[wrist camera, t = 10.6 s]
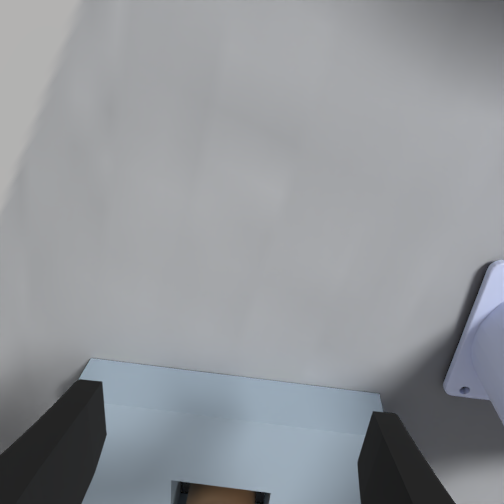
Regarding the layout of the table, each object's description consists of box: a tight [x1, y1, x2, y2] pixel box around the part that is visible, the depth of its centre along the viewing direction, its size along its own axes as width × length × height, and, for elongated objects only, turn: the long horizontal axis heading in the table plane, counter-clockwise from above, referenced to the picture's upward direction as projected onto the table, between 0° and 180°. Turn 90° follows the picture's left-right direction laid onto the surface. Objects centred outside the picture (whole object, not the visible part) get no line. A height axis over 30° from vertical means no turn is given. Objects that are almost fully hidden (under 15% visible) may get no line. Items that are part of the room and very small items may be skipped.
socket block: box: [79, 358, 383, 504], centre depth 28 cm, size 16×16×3 cm
